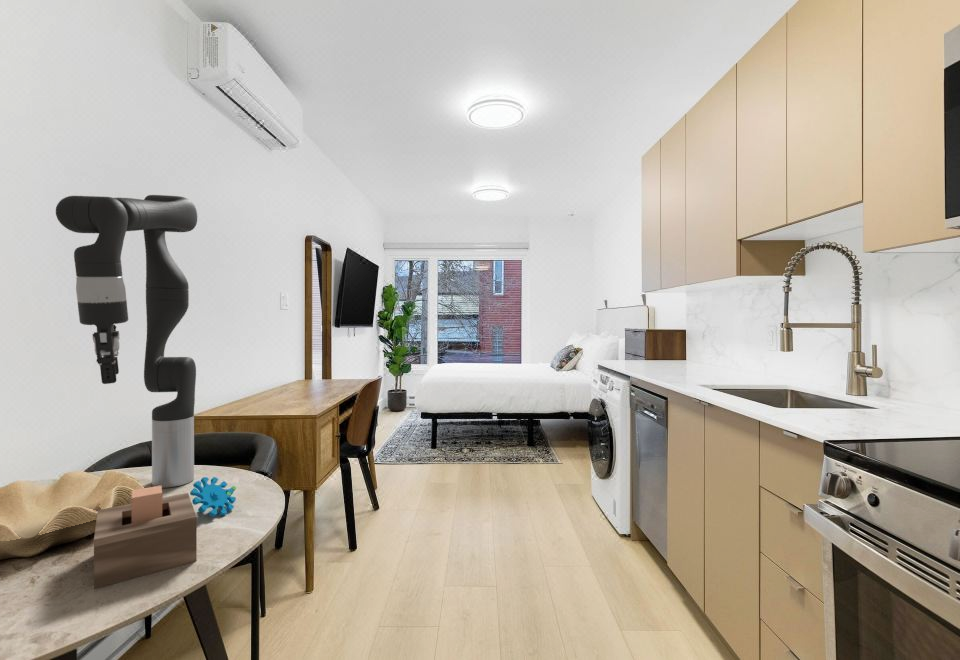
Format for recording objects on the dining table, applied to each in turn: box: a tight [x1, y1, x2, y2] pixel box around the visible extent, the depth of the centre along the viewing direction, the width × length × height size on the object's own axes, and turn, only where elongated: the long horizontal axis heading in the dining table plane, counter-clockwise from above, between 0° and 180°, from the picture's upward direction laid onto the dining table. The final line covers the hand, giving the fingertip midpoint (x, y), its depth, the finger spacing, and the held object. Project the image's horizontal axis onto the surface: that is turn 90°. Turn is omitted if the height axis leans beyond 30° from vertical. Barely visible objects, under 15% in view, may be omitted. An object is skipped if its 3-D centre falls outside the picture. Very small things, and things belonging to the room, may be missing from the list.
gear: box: [189, 476, 237, 518], centre depth 101 cm, size 11×6×10 cm
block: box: [131, 486, 163, 523], centre depth 82 cm, size 4×4×12 cm
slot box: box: [93, 492, 198, 590], centre depth 82 cm, size 14×14×8 cm
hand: (110, 378), depth 92 cm, fingers open, 8 cm apart
